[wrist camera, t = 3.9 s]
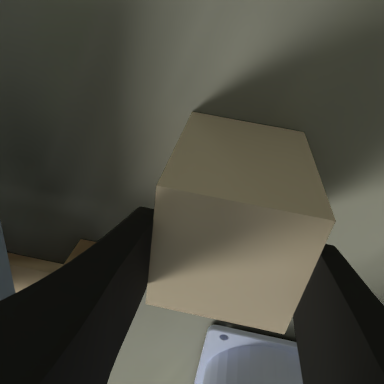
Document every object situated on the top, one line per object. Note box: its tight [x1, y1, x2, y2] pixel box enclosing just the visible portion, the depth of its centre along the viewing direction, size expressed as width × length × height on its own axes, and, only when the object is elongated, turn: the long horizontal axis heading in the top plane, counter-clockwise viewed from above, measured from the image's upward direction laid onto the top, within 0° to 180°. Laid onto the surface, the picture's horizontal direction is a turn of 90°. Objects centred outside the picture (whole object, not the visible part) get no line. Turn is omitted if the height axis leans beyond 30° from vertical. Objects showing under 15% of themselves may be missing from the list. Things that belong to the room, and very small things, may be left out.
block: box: [146, 112, 336, 334], centre depth 12 cm, size 4×4×6 cm
